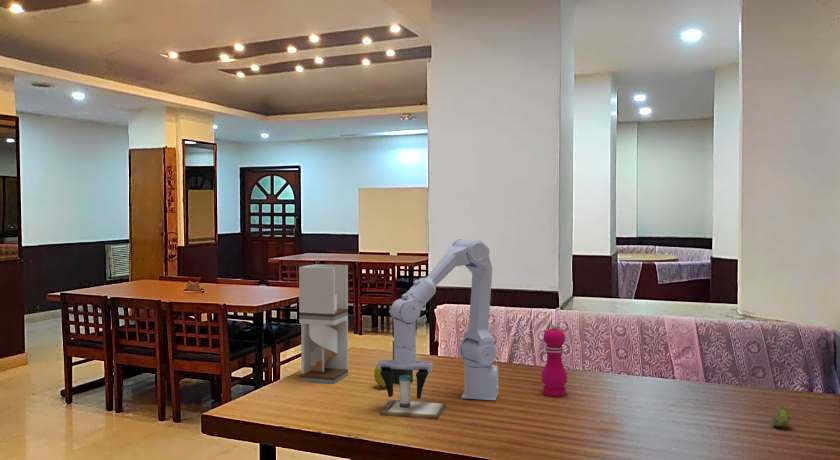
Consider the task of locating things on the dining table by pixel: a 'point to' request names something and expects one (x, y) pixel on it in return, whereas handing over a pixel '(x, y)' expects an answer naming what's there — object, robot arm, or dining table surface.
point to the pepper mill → (554, 363)
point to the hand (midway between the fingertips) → (404, 396)
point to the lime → (780, 417)
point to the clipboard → (413, 409)
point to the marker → (404, 391)
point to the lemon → (379, 377)
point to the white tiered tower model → (323, 322)
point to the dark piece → (400, 372)
